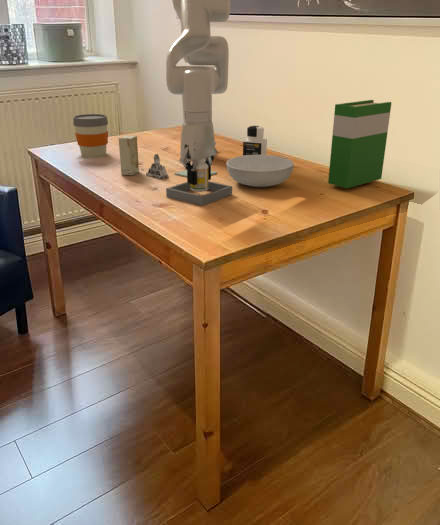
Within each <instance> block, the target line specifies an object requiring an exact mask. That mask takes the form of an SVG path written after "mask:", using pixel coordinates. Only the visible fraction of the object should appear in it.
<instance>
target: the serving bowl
mask: <svg viewBox="0 0 440 525" xmlns="http://www.w3.org/2000/svg"><path fill="white" fill-rule="evenodd" d="M294 163H295V162H294V161H293V160H292V159H289V158H288V157H283V156H280V155H279V156H278V155H271V154H266V155H244V156H243V155H239V156H235V157H232V158H230V159H227V161H226V164H225V166H226V170H227V173H228V174H229V176H230V178H232V180H234V181H235V182H237V183H239V184H241V185H244V186H247V187H248V186H249V187H253V188H268V187H272V186H277V185H279V184H282V183H284V182H285V181H287V180H288V179H289V178H290V176H291V174H292V173H293V169H294V165H295V164H294Z"/></svg>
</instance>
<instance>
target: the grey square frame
mask: <svg viewBox="0 0 440 525" xmlns="http://www.w3.org/2000/svg"><path fill="white" fill-rule="evenodd" d="M165 190H166V192H165V193H166V198H170V199H175V200H177V201H181V202H186V203H189V204H193V205H196V206H200V207H201V206H202V207H203V206H206V205H208V204H211V203H214V202H217V201H219V200H222V199H224V198H226V197H230V196H231V195H233V186H232V185H227V184H224V183H218V182H214V181H210V180H208V190H207V191H209V192H208V193H206V194H203V195H200V194H197V193H196V194H195V193H191V192H189V191H192V190H191V189H190V184H189V183H188V182H187V181H185V182H181V183H179V184H176V185H172V186H168V187H166V188H165Z"/></svg>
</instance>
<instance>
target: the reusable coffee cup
mask: <svg viewBox="0 0 440 525" xmlns="http://www.w3.org/2000/svg"><path fill="white" fill-rule="evenodd" d="M107 116H108V115H105V114H101V113H100V114H99V113H86V114H78V115H74V116H73V117H72V118H73V122H72V123H73V124H72V125H73V126H74V129H75V132H74V135H75V138H76V142H77V146H78V147H79V151H80V154H81V157H84V158H92V159H93V158H101V157H105V156H106V155H107V144H108V142H109V140H108V139H109V131H108V124H109V122H108V117H107Z"/></svg>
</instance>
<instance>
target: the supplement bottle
mask: <svg viewBox="0 0 440 525" xmlns="http://www.w3.org/2000/svg"><path fill="white" fill-rule="evenodd" d="M205 162H206V158H203V159H200V160H197V163H196V168H195V171H197V184H196V185H193V184H190V189H191V190H190V191H192V192H196V193H197V192H199V193H202V192H206V191H209V190H208V181H209V180H208V165H207V164H206V163H205ZM190 164H191V165H192V163H190Z"/></svg>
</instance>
